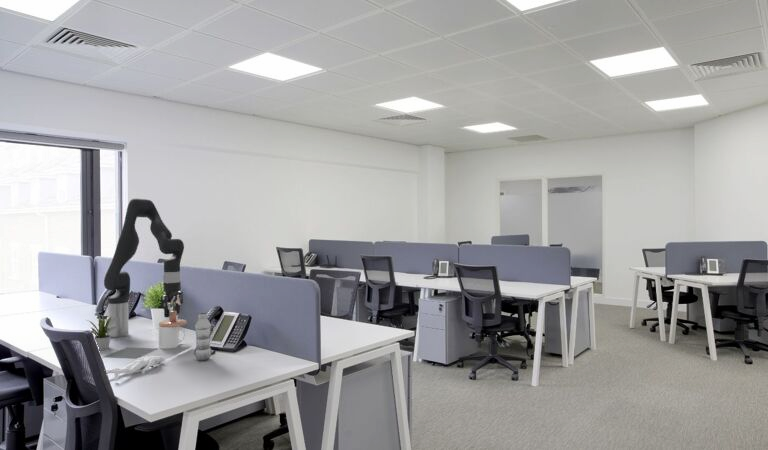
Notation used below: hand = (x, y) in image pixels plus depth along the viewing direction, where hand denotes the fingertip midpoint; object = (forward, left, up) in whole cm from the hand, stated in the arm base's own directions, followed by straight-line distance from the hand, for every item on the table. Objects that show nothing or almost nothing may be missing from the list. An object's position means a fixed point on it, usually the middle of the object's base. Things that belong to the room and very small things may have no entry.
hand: (172, 315), depth 225 cm
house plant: (-28, -9, -15) cm, 33 cm away
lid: (0, 0, -4) cm, 4 cm away
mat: (-11, -14, -15) cm, 23 cm away
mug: (0, 0, -15) cm, 15 cm away
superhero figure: (+7, -36, -16) cm, 40 cm away
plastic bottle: (+25, -17, -15) cm, 34 cm away
